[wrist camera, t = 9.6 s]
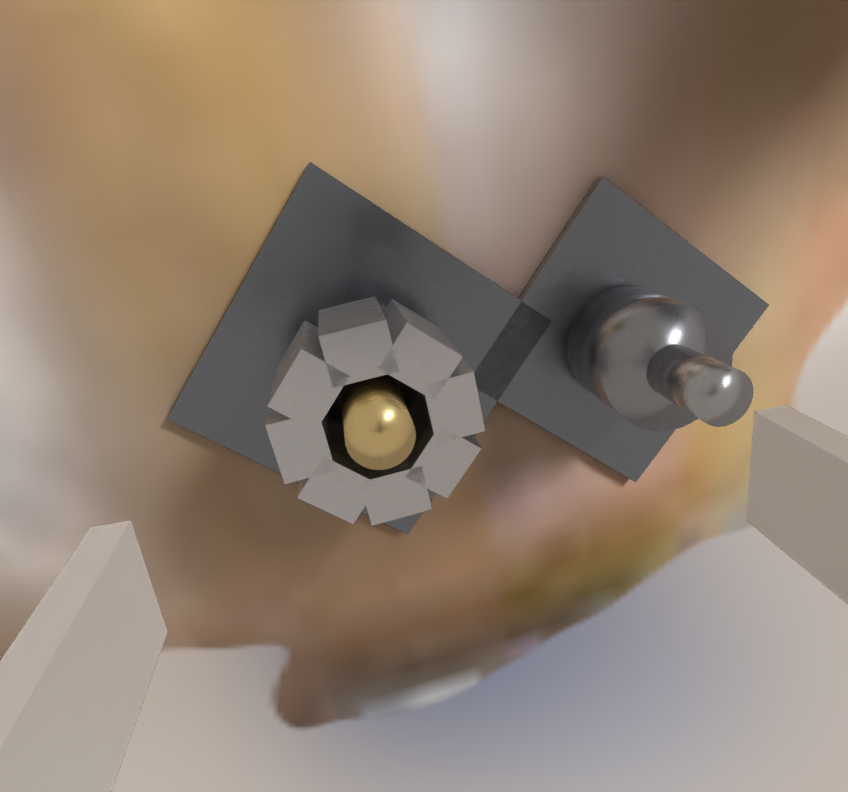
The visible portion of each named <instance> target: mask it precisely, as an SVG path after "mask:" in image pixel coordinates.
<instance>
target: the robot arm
mask: <svg viewBox="0 0 848 792" xmlns="http://www.w3.org/2000/svg"><path fill="white" fill-rule="evenodd" d="M746 521H747V522H749V523H750V524H751V525H752V526H753V527H755V528H756V529H757V530H758V531H760V532H761V533H762V534H763V535H764V536H765V537H767V538H768V539H769V540H770V541H771V542H773V543H774V544H775V545H776V546H778V547H779V548H780V549H781V550H782V551H784V552H785V553H786V554H787V555H788V556H790V557H791V558H792V559H793V560H795V561H796V562H797V563H798V564H799V565H801V566H802V567H803V568H804V569H805V570H807V571H808V572H809V573H810V574H811V575H813V576H814V577H815V578H816V579H818V580H819V581H820V582H821V583H822V584H823V585H825V586H826V587H827V588H828V589H830V590H831V591H832V592H833V593H834V594H836V595H837V596H838V597H839V598H841V599H842V600H843V601H844V602H845V603H846V604H848V436H847V435H845V434H843V433H841V432H839V431H837V430H835V429H833V428H831V427H829V426H827V425H825V424H823V423H821V422H819V421H817V420H815V419H813V418H811V417H809V416H807V415H805V414H803V413H801V412H799V411H798V410H796V409H794V408H792V407H790V406H788V405H785V406H780V407H774V408H768V409H763V410H757V411H754V420H753V434H752V447H751V461H750V475H749V489H748V502H747V516H746ZM167 633H168V632H167V629H166V626H165V623H164V620H163V617H162V614H161V611H160V608H159V605H158V602H157V599H156V596H155V593H154V590H153V586H152V583H151V580H150V577H149V574H148V571H147V568H146V565H145V562H144V559H143V556H142V553H141V550H140V547H139V544H138V541H137V538H136V535H135V532H134V529H133V526H132V523H131V520H130V521H124V522H118V523H113V524H107V525H101V526H95V527H90V529H89V530H88V532H87V533H86V535H85V536H84V538H83V539H82V540H81V542H80V543H79V545H78V546H77V548H76V549H75V551H74V552H73V554H72V555H71V557H70V558H69V560H68V561H67V563H66V564H65V566H64V567H63V569H62V570H61V572H60V573H59V575H58V576H57V578H56V579H55V581H54V582H53V583H52V585H51V586H50V588H49V589H48V591H47V592H46V594H45V595H44V597H43V598H42V600H41V601H40V603H39V604H38V606H37V607H36V609H35V610H34V612H33V613H32V615H31V616H30V618H29V619H28V621H27V622H26V624H25V625H24V627H23V628H22V629H21V631H20V632H19V634H18V635H17V637H16V638H15V640H14V641H13V643H12V644H11V646H10V647H9V649H8V650H7V652H6V653H5V655H4V656H3V658H2V659H1V661H0V792H112V789H113V787H114V783H115V781H116V778H117V775H118V772H119V769H120V767H121V763H122V761H123V758H124V755H125V752H126V750H127V747H128V744H129V741H130V738H131V735H132V732H133V729H134V727H135V724H136V721H137V718H138V715H139V712H140V710H141V707H142V704H143V701H144V698H145V695H146V692H147V689H148V687H149V684H150V681H151V678H152V675H153V672H154V670H155V667H156V664H157V661H158V658H159V655H160V653H161V650H162V647H163V644H164V641H165V638H166V635H167Z"/></svg>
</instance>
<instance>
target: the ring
mask: <svg viewBox="0 0 848 792" xmlns="http://www.w3.org/2000/svg"><path fill="white" fill-rule="evenodd" d="M462 357H463V356H462V355H461V353H460V352H459V351H458V350H457V349H456V347H455V346H454V345H453V344H452V343H451V341H450V340H449V339H448V338H447V337H446V335H445V334H444V333H443V332H442V331H441V329H440V328H439V327H437V326H436V325H434V324H432V323H431V322H429V321H427V320H426V319H424V318H422V317H421V316H419V315H418V314H416V313H414V312H413V311H411V310H409V309H408V308H406V307H404V306H403V305H401V304H399V303H398V302H396V301H395V300H393V299H391V301H390V303H389V304H388V306H387V308H386V309H385V311H384V312H382V310H381V308H380V306H379V304H378V302H377V300H376V298H375V296H374V297H370V298H365V299H361V300H357V301H353V302H349V303H345V304H341V305H337V306H333V307H329V308H325V309H320V310H319V313H318V328H317V327H316V326H314V325H312V324H310V323H309V322H307V321H305V320H304V322H303V324H302V325H301V327H300V329H299V331H298V332H297V334H296V336H295V337H294V339H293V341H292V342H291V344H290V346H289V348H288V349H287V351H286V353H285V354H284V356H283V358H282V359H281V361H280V363H279V365H278V366H277V368H276V372H275V376H274V380H273V384H272V389H271V393H270V397H269V401H268V406H267V407H269V411H268V415H267V420H266V424H265V426H266V430H267V433H268V436H269V439H270V442H271V445H272V448H273V451H274V454H275V457H276V460H277V463H278V466H279V469H280V472H281V475H282V478H283V481H284V484H288V483H292V482H295V481H298V493H297V498H298V499H300V500H303V501H305V502H307V503H309V504H311V505H313V506H315V507H317V508H320V509H322V510H324V511H326V512H328V513H330V514H332V515H334V516H336V517H339V518H341V519H343V520H345V521H347V522H349V523H351V524H354V522H355V521H356V519H357V518H358V516H359V515H360V513H361V512H362V510H363V509H364V507H365V506H366V507H367V511H368V514H369V518H370V521H371V525H372V526H373V525H377V524H380V523H384V522H388V521H391V520H395V519H399V518H402V517H406V516H410V515H413V514H417V513H420V512H424V511H428V510H431V509H432V507H431V503H430V499H429V495H428V491H427V489H429V490H431V491H433V492H435V493H437V494H439V495H441V496H443V497H445V498H448V497H449V495H450V494H451V492H452V491H453V489H454V488H455V487H456V485H457V484H458V482H459V481H460V479H461V478H462V476H463V475H464V473H465V472H466V470H467V469H468V468H469V466H470V465H471V463H472V462H473V460H474V459H475V457H476V456H477V454H478V453H479V451H480V450H481V447H480V445H479V444H478V442H477V441H476V439H475V437H474V436H473V434H476V433H480V432H484V431H485V427H484V422H483V416H482V411H481V406H480V401H479V396H478V391H477V386H476V381H475V375H474V372H473V370H472V369H471V368H470V367H469V365H468V364H467V363H466V362H465V361H464V359H463V358H462ZM387 374H388V375H390V376H392V377H394V378H395V379H397V380H399V381H401V382H402V383H404V384H406V385H408V386H409V387H411V388H413V389H414V390H415V395H414V396H413V398H412V400H411V401H410V403H409V404H408V406H407V408H408V411H409V413H410V416H411V419H412V421H413V424H414V427H415V431H416V440H415V444H414V447H413V450H412V451H411V453H410V454H409V456H408V457H407V458H406V459H405V460H404V461H403V462H402V463H400V464H398V465H397V466H395V467H392V468H389V469H385V470H373V469H369V468H366V467H363V466H361V465H360V464H358V463H357V462H355V461H354V460H353V459H352V457H351V456H350V455H349V453H348V451H347V449H346V445H345V438H344V428H343V422H342V421H340V420H338V419H336V418H335V417H333V416H331V415H330V411H329V409H330V407H331V406H332V404H333V403H334V401H335V399H336V398H337V396H338V394H339V393H340V391H341V390H342V388H343V386H344V385H347V384H351V383H355V382H359V381H363V380H367V379H371V378H375V377H379V376H383V375H387Z"/></svg>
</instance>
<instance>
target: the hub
mask: <svg viewBox="0 0 848 792" xmlns="http://www.w3.org/2000/svg"><path fill="white" fill-rule="evenodd" d="M374 296H375V298H376V300H377V302H378V304H379V306H380V308H381V310H382V312H384V311H385V309H386V308H387V306H388V304H389V303H390V301H391V299H393V300H395V301H396V302H398V303H399V304H401V305H403V306H404V307H406V308H408V309H409V310H411V311H413V312H414V313H416V314H418V315H419V316H421V317H422V318H424V319H426V320H427V321H429V322H431V323H432V324H434V325H436V326H437V327H439V328H440V329H441V331H442V332H443V333H444V334H445V335H446V337H447V338H448V339H449V340H450V341H451V343H452V344H453V345H454V346H455V347H456V349H457V350H458V351H459V352H460V353H461V355H462V356H463V357H462V358H463V359H464V361H465V362H466V363H467V364H468V365H469V367H470V368H471V369H472V370H473V372H476V371H475V370H478V369H480V371H481V370H482V369H483V368H481V367H483V366H485V367H487V366H488V364H487V365H485V364H486V363H487V362H486V361H488V362H489V364H490V365H491V367H492V368H493V367H494V369H499V367H498V366H502V367H504V366H505V367H504V368H505V369H506V367H507V365H508V366H510V365H509V364H511V362H510V363H509V360H508V362H506V363H505V364H506V365H505V364H503V362H504V360H503V362H502V360H501V361H500V359H503V358H504V356H502V355H499V357H500V356H501V358H500V359H499V357H496V356H497V354H498V353H499V352H500V351H501V352H503V351H504V348H505V347H508V348H509V345H510V344H511V341H510V340H509V339H507V340H509V342H510V343H509V342H508V341H507V342H506V343H505V345H504V347H503V348H502V347H501V346H499V345H500V343H498V341H499V342H500V341H501V340H502V339H505V338H506V336H508V334H507V335H506V336H504V338H503V337H502V336H503V335H504V334H505V332H506V333H509V332H510V330H511V329H513V328H511V327H512V326H514V323H516V325H517V322H518V321H521V320H522V319H521V320H520V318H521V317H520V316H522V315H523V314H524V312H525V313H526V311H525V309H524V308H523V307H522V306H521V305H520V302H521V300H519V299H518V298H516V297H515V296H513V295H512V294H510V293H509V292H507V291H506V290H504V289H502V288H501V287H499V286H498V285H496V284H495V283H493V282H492V281H490V280H489V279H487V278H486V277H484V276H483V275H481V274H480V273H478V272H477V271H475V270H474V269H472V268H471V267H469V266H467V265H466V264H464V263H463V262H461V261H460V260H458V259H457V258H455V257H454V256H452V255H451V254H449V253H448V252H446V251H445V250H443V249H442V248H440V247H439V246H437V245H436V244H434V243H433V242H431V241H429V240H428V239H426V238H425V237H423V236H422V235H420V234H419V233H417V232H416V231H414V230H413V229H411V228H410V227H408V226H407V225H405V224H404V223H402V222H401V221H399V220H398V219H396V218H394V217H393V216H391V215H390V214H388V213H387V212H385V211H384V210H382V209H381V208H379V207H378V206H376V205H375V204H373V203H372V202H370V201H369V200H367V199H366V198H364V197H363V196H361V195H359V194H358V193H356V192H355V191H353V190H352V189H350V188H349V187H347V186H346V185H344V184H343V183H341V182H340V181H338V180H337V179H335V178H334V177H332V176H331V175H329V174H328V173H326V172H325V171H323V170H321V169H320V168H318V167H317V166H315V165H314V164H312V163H311V162H310V163H309V164H308V166H307V168H306V170H305V172H304V173H303V175H302V177H301V179H300V181H299V182H298V184H297V186H296V188H295V190H294V191H293V193H292V195H291V197H290V199H289V200H288V202H287V204H286V206H285V207H284V209H283V211H282V213H281V215H280V216H279V218H278V220H277V222H276V224H275V225H274V227H273V229H272V231H271V233H270V234H269V236H268V238H267V240H266V242H265V243H264V245H263V247H262V249H261V251H260V252H259V254H258V256H257V258H256V260H255V261H254V263H253V265H252V267H251V268H250V270H249V272H248V274H247V276H246V277H245V279H244V281H243V283H242V285H241V286H240V288H239V290H238V292H237V294H236V295H235V297H234V299H233V301H232V303H231V304H230V306H229V308H228V310H227V312H226V313H225V315H224V317H223V319H222V321H221V322H220V324H219V326H218V328H217V330H216V331H215V333H214V335H213V337H212V338H211V340H210V342H209V344H208V346H207V347H206V349H205V351H204V353H203V355H202V356H201V358H200V360H199V362H198V364H197V365H196V367H195V369H194V371H193V373H192V374H191V376H190V378H189V380H188V382H187V383H186V385H185V387H184V389H183V391H182V392H181V394H180V396H179V398H178V399H177V401H176V403H175V405H174V407H173V408H172V410H171V412H170V414H169V416H168V417H167V419H168V420H170V421H172V422H174V423H176V424H178V425H180V426H182V427H184V428H186V429H189V430H191V431H193V432H195V433H197V434H199V435H201V436H203V437H205V438H207V439H209V440H211V441H214V442H216V443H218V444H220V445H222V446H224V447H226V448H228V449H230V450H232V451H234V452H236V453H239V454H241V455H243V456H245V457H247V458H249V459H251V460H253V461H255V462H257V463H259V464H262V465H264V466H266V467H268V468H270V469H272V470H274V471H276V472H278V473H280V474H281V472H280V469H279V466H278V463H277V460H276V457H275V454H274V451H273V448H272V445H271V442H270V439H269V436H268V433H267V430H266V426H265V424H266V420H267V415H268V411H269V407H267V406H268V401H269V397H270V393H271V389H272V384H273V380H274V376H275V372H276V368H277V366H278V365H279V363H280V361H281V359H282V358H283V356H284V354H285V353H286V351H287V349H288V348H289V346H290V344H291V342H292V341H293V339H294V337H295V336H296V334H297V332H298V331H299V329H300V327H301V325H302V324H303V322H304V320H305V321H307V322H309V323H310V324H312V325H314V326H316V327H317V328H318V313H319V310H320V309H325V308H329V307H333V306H337V305H341V304H345V303H349V302H353V301H357V300H361V299H365V298H370V297H374ZM521 303H523V306H526V305H527V304H526V305H525V304H524V302H521ZM518 305H520V306H521V307H522V308H523V311H524V312H522V313H521V310H522V309H521V310H520V309H519V308H521V307H520V306H518ZM528 307H529V306H528ZM516 308H518V309H519V310H520V312H519V313H521V315H518V316H519V317H520V318H519V320H518V319H517V318H516V316H517V315H515V316H514V315H512V314H515V313H516V312H517V311H519V310H517V309H516ZM526 308H527V306H526ZM529 308H530V309H531V307H529ZM530 309H528V310H527V311H528V312H529V310H530ZM516 310H517V311H516ZM531 311H533V308H532V309H531ZM514 312H515V313H514ZM519 313H516V314H519ZM532 313H533V312H532ZM535 313H537V312H535ZM535 313H533V314H534V317H536V316H535ZM538 313H539V312H538ZM538 313H537V314H538ZM529 314H530V316H533V314H532V315H531V312H529ZM529 314H528V315H529ZM540 314H541V313H540ZM540 314H539V316H540ZM541 315H542V314H541ZM512 316H513V317H515V318H516V319H517V320H518V321H514V322H513V323H512V320H511V321H510V322H509V323H508V324H507V325H508V327H509V326H510V323H511V324H512V326H511V327H510V329H509V328H508V327H507V326H506V328H505V329H506V331H505V330H504V331H505V332H504V333H503V328H504V326H505V325H506V323H507V322H508V320H509V319H510V317H512ZM518 316H517V317H518ZM525 316H527V314H526V315H525ZM525 316H524V317H523V318H524V319H523V320H524V321H525V320H526V319H527V320H528V318H529V316H528V318H526V317H525ZM539 316H538V317H536V319H537V318H539ZM542 316H543V315H542ZM513 317H512V319H513ZM544 317H545V316H544ZM525 318H526V319H525ZM530 318H533V317H530ZM540 318H541V316H540ZM540 318H539V319H540ZM516 319H513V320H516ZM536 319H534V322H535V321H536ZM539 319H537V321H538V320H539ZM546 319H547V318H545V319H542V321H543V320H545V322H547V321H548V320H547V321H546ZM523 320H522V321H523ZM549 320H550V319H549ZM524 321H523V322H524ZM528 321H531V319H529V320H528ZM528 321H526V322H528ZM532 321H533V320H532ZM537 321H536V322H537ZM540 321H541V320H540ZM540 321H539V322H540ZM523 322H522V323H523ZM526 322H525V323H526ZM534 322H531V324H532V325H530V326H531V327H532V326H533V323H534ZM545 322H544V321H543V325H544V324H545ZM520 323H521V322H518V325H519V324H520ZM525 323H524V324H525ZM550 323H551V322H547V324H545V325H544V326H546V325H548V324H550ZM524 324H523V325H521V324H520V326H521V327H522V326H523V327H526V326H524ZM528 324H529V323H528ZM528 324H527V323H526V325H527V327H526V328H528ZM535 324H537V323H535ZM535 324H534V325H535ZM539 324H540V326H541V325H542V324H541V323H539ZM516 325H515V326H514V328H515V327H517V326H516ZM520 326H519V327H518V328H517V329H519V328H520ZM530 326H529V327H530ZM535 326H536V325H535ZM548 326H549V325H548ZM531 327H530V328H528V329H531ZM533 327H534V326H533ZM533 327H532V329H533ZM536 327H537V329H536V328H535V327H534V329H535V330H536V331H535V332H537V330H541V329H542V328H540V329H539V328H538V327H539V326H536ZM541 327H543V326H541ZM546 327H547V326H546ZM544 328H545V327H543V330H544V331H543V332H545V331H546V328H545V329H544ZM547 328H548V327H547ZM508 329H509V330H508ZM517 329H516V331H517V332H516V331H514V330H515V329H513V331H514V332H513V331H512V330H511V331H512V332H513V333H514V334H515V335H516V334H517V333H518V332H519V333H521V332H522V331H521V330H520V331H521V332H520V331H518V330H517ZM521 329H523V328H521ZM534 329H533V330H532V332H533V331H534ZM507 330H508V332H507ZM524 330H525V328H524ZM501 332H502V335H500V333H501ZM515 332H516V333H515ZM523 332H525V331H523ZM523 332H522V333H523ZM526 332H528V331H526ZM540 332H541V331H540ZM540 332H539V333H538V334H540ZM543 332H541V333H543ZM519 333H518V336H516V337H515V335H514V334H512V333H509V334H511V335H510V337H511V336H513V339H514V337H515V338H516V340H518V338H517V337H519V336H520V338H523V337H522V336H523V334H522V333H521V334H522V336H521V335H520V334H519ZM529 333H531V331H530V332H529ZM533 333H534V332H533ZM533 333H532V335H533ZM527 334H528V333H526V334H525V335H526V336H527ZM534 334H535V333H534ZM538 334H537V333H536V335H535V336H537V335H538ZM543 334H544V333H543ZM543 334H542V335H543ZM530 335H531V334H530ZM530 335H529V336H530ZM532 335H531V337H532ZM542 335H541V336H540V335H539V337H540V338H541V337H542ZM499 336H500V337H502V338H500V337H499ZM526 336H525V339H526V338H529V341H530V340H531V338H530V337H529V336H528V337H526ZM508 337H509V336H508ZM510 337H509V338H510ZM533 337H534V336H533ZM533 337H532V338H533ZM539 337H538V338H539ZM499 338H500V339H499ZM520 338H519V339H520ZM536 338H537V337H536ZM536 338H535V339H536ZM538 338H537V339H538ZM496 339H498V341H496V342H497V343H498V344H497V345H498V346H496V349H497V347H501V350H500V351H499V350H498V349H500V348H498V349H497V351H498V353H497V351H496V349H495V348H494V349H495V351H494V350H492V352H490V353H491V355H492V356H491V355H490V354H489V355H490V357H489V358H488V359H487V356H489V355H487V356H485V355H486V354H488V353H489V352H488V351H489V349H490V348H491V349H493V348H492V347H491V346H492V345H493V343H494V342H495V340H496ZM513 339H512V337H511V340H513ZM533 339H534V338H533ZM535 339H534V340H531V341H530V342H531V343H532V342H533V343H534V341H535ZM516 340H514V341H515V342H517V341H516ZM522 340H523V341H525V340H524V338H523V339H522ZM538 340H539V339H538ZM505 341H506V339H505V340H503V342H505ZM503 342H501V343H503ZM515 342H514V343H515ZM519 342H522V341H520V340H519ZM519 342H518V343H517V345H518V344H519V345H522V347H523V348H524V346H525V345H524V346H523V344H526V345H527V342H528V339H527V340H526V342H525V343H522V344H521V343H519ZM536 342H538V341H537V340H536V341H535V343H536ZM507 343H508V344H509V345H508V346H506V345H507ZM512 343H513V342H512ZM514 343H513V344H514ZM533 343H532V344H533ZM528 344H530V343H528ZM501 345H502V344H501ZM514 345H515V344H514ZM519 345H518V347H517V348H519ZM502 346H503V345H502ZM527 346H529V345H527ZM531 346H535V345H534V344H533V345H531ZM493 347H494V346H493ZM510 347H511V348H510V349H512V347H513V346H512V344H511V345H510ZM514 347H515V346H514ZM522 347H521V349H519V350H518V349H517V351H516V353H517V352H518V351H520V350H522V349H523V348H522ZM525 347H526V346H525ZM529 347H530V346H529ZM526 348H527V352H529V351H528V347H526ZM533 348H534V347H533ZM533 348H532V349H533ZM491 349H490V350H491ZM502 349H503V350H502ZM513 349H514V348H513ZM513 349H512V350H513ZM515 349H516V347H515ZM515 349H514V350H513V352H514V353H515ZM532 349H529V350H530V351H532ZM506 350H507V349H506ZM506 350H505V351H504V352H503V353H504V354H505V355H506V356H505V357H507V354H508V355H509V354H510V353H511V351H512V350H511V351H510V353H509V349H508V353H507V354H506V352H507V351H506ZM524 350H526V349H524ZM524 350H522V351H523V352H522V351H521V352H520V353H519V352H518V353H519V354H517V355H516V354H515V355H516V356H517V357H518V355H520V354H521V353H524V356H525V354H527V356H529V354H530V353H529V354H528V353H526V351H525V352H524ZM487 352H488V353H487ZM493 352H494V353H495V352H496V353H497V354H496V353H495V355H493ZM501 352H500V353H501ZM500 353H499V354H500ZM503 353H501V354H503ZM493 356H494V357H496V360H495V361H496V362H498V363H499V361H500V362H502V363H501V364H502V365H501V364H500V365H496V364H495V363H496V362H495V361H494V359H495V358H493ZM510 356H511V355H510ZM516 356H514V355H513V358H517V357H516ZM521 356H523V355H520V356H519V357H521ZM484 357H486V359H487V360H486V359H485V360H484ZM491 357H492V358H493V359H492V358H491ZM497 358H498V359H497ZM521 358H522V357H521ZM521 358H520V359H519V358H517V359H518V360H519V361H518V362H520V360H522V361H523V362H525V360H526V359H527V358H526V357H525V358H526V359H525V358H524V357H523V358H524V359H525V360H523V358H522V359H521ZM490 359H491V361H490ZM504 359H505V358H504ZM506 359H508V358H506ZM506 359H505V361H506ZM509 359H510V357H509ZM482 360H484V362H485V364H484V363H483V362H481V361H482ZM497 360H499V361H497ZM511 360H512V358H511ZM492 361H494V362H493V364H494V365H492V363H490V362H492ZM514 361H515V360H514ZM522 361H521V362H522ZM518 362H517V360H516V363H517V364H518V365H519V363H518ZM481 363H483V365H481V367H480V364H481ZM498 363H497V364H498ZM507 363H509V364H507ZM512 363H513V360H512ZM520 364H521V363H520ZM490 365H489V366H490ZM511 365H512V364H511ZM518 365H517V366H518ZM522 365H523V363H522ZM495 366H497V368H495ZM514 366H515V367H517V366H516V365H515V363H514ZM478 367H480V368H478ZM485 367H484V368H485ZM502 367H501V368H500V369H501V370H502V369H503V368H502ZM510 367H511V366H510ZM510 367H508V368H509V369H510ZM512 367H513V365H512ZM515 367H513V368H511V369H510V370H511V371H512V373H511V371H509V372H510V373H509V374H508V372H507V371H508V370H507V369H508V368H507V369H506V372H505V374H503V375H504V376H505V375H506V373H507V374H508V375H509V376H510V374H513V373H514V371H513V370H514V369H515ZM519 367H520V366H519ZM477 368H478V369H477ZM492 368H491V369H492ZM517 368H518V367H517ZM489 369H490V367H489ZM519 369H520V368H518V369H517V371H518V370H519ZM483 370H484V369H483ZM483 370H482V371H483ZM485 370H486V368H485ZM503 370H504V369H503ZM503 370H502V371H501V372H503ZM478 371H479V370H478ZM480 371H479V372H480ZM487 371H488V372H489V370H488V369H487ZM495 371H498V370H494V372H495ZM499 371H500V370H499ZM504 371H505V370H504ZM517 371H516V370H515V372H516V373H517ZM485 372H486V371H485ZM485 372H484V371H483V373H485ZM488 372H487V373H488ZM483 373H480V375H481V376H480V378H482V377H483V376H482V374H483ZM490 373H491V371H490V372H489V373H488V374H490ZM492 373H493V372H492ZM495 373H499V372H495ZM503 373H504V372H503ZM476 374H477V372H476ZM476 374H474V375H475V376H476ZM478 374H479V373H478ZM478 374H477V377H476V378H479V376H478ZM488 374H487V376H488ZM483 375H484V374H483ZM492 375H495V374H491V376H492ZM498 375H499V376H498ZM500 375H501V376H503V375H502V373H500V374H497V375H496V376H493V377H492V378H491V377H489V378H490V379H495V378H496V377H497V376H498V378H499V377H500ZM508 375H506V377H505V378H507V376H508ZM515 375H516V374H515ZM515 375H513V376H515ZM485 376H486V375H485ZM485 376H484V378H485ZM489 376H490V375H489ZM509 376H508V377H509ZM511 376H512V375H511ZM476 378H475V379H476ZM486 378H487V379H488V381H491V380H490V379H489V378H488V377H486ZM505 378H503V377H502V378H501V379H505ZM510 379H511V380H512V379H513V377H512V378H510V377H509V378H507V381H508V380H509V382H510V381H511V380H510ZM479 380H480V379H476V385H477V382H478V381H479ZM485 380H486V379H484V380H483V381H485ZM495 380H496V381H497V382H498V383H499V381H500V382H502V380H499V379H497V378H496V379H495ZM498 380H499V381H498ZM481 381H482V380H481ZM481 381H480V382H479V383H480V384H479V383H478V386H479V385H481V383H482V385H483V384H484V385H486V384H487V385H488V382H487V381H485V383H486V384H485V383H484V382H481ZM492 381H493V380H492ZM497 382H494V383H497ZM504 382H506V380H505V381H504ZM504 382H503V384H504V388H505V386H508V385H509V384H508V383H507V382H506V383H507V384H508V385H507V384H506V383H504ZM492 383H493V382H491V383H489V384H491V385H492ZM498 383H497V385H498ZM487 385H486V386H484V387H486V388H485V389H487ZM491 385H489V386H490V387H491ZM494 385H495V384H494ZM494 385H492V387H494ZM497 385H495V386H496V387H497V388H496V389H495V388H493V389H494V390H495V391H496V394H497V395H500V394H501V395H502V392H500V391H499V392H500V394H499V392H498V393H497V391H498V390H501V388H502V389H503V386H502V387H501V386H500V389H498V387H499V385H500V384H499V385H498V386H497ZM501 385H502V383H501ZM477 388H480V387H477ZM480 389H482V388H480ZM483 389H484V388H483ZM483 389H482V390H483ZM485 389H484V390H483V392H481V390H480V391H479V389H477V391H478V396H479V401H480V406H481V411H482V416H483V422H484V421H485V419H486V418H487V416H488V415H489V413H490V412H491V410H492V409H493V407H494V406H495V404H496V403H497V401H498V400H497V399H499V398H500V397H501V395H500V397H499V396H498V397H499V398H498V397H497V395H496V394H495V391H494V390H493V391H494V392H493V393H492V395H494V394H495V395H496V396H495V395H494V397H496V398H494V397H493V396H491V395H490V394H491V391H490V388H489V389H487V393H488V394H489V392H490V394H489V395H486V392H485V394H484V391H485ZM497 389H498V390H497ZM491 390H492V389H491ZM505 390H506V388H505V389H504V391H505ZM488 391H489V392H488ZM502 391H503V390H502ZM504 391H503V392H504ZM414 395H415V390H414V389H413V388H411V387H409V386H408V385H406V384H404V383H402V382H401V381H399V380H397V379H395V378H394V377H392V376H390V375H388V374H387V375H383V376H379V377H375V378H371V379H367V380H363V381H359V382H355V383H351V384H347V385H344V386H343V388H342V390H341V391H340V393H339V394H338V396H337V398H336V399H335V401H334V403H333V404H332V406H331V407H330V409H329V411H330V415H331V416H333V417H335V418H336V419H338V420H340V421H342V422H343V428H344V438H345V445H346V449H347V451H348V453H349V455H350V456H351V457H352V459H353V460H354V461H355V462H357V463H358V464H360V465H361V466H363V467H366V468H369V469H373V470H385V469H389V468H392V467H395V466H397V465H398V464H400V463H402V462H403V461H404V460H405V459H406V458H407V457H408V456H409V454H410V453H411V451H412V450H413V447H414V444H415V440H416V431H415V427H414V424H413V421H412V419H411V416H410V413H409V411H408V408H407V406H408V404H409V403H410V401H411V400H412V398H413V396H414ZM489 396H491V397H489ZM474 435H475V434H473V436H474ZM297 482H298V481H297ZM427 491H428V495H429V499H430V500H431V499H432V497H433V496H434V494H435V492H433V491H431V490H429V489H427ZM362 513H364V514H366V515H368V516H369V514H368V511H367V507H366V506H365V507H364V509H363V510H362ZM421 514H422V512H420V513H417V514H413V515H410V516H406V517H402V518H399V519H395V520H391V521H388V522H384V524H387V525H389V526H391V527H393V528H395V529H397V530H399V531H401V532H403V533H405V534H408V533H409V531H410V530H411V528H412V527H413V525H414V524H415V523H416V521H417V520H418V518H419V517H420V515H421Z"/></svg>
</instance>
